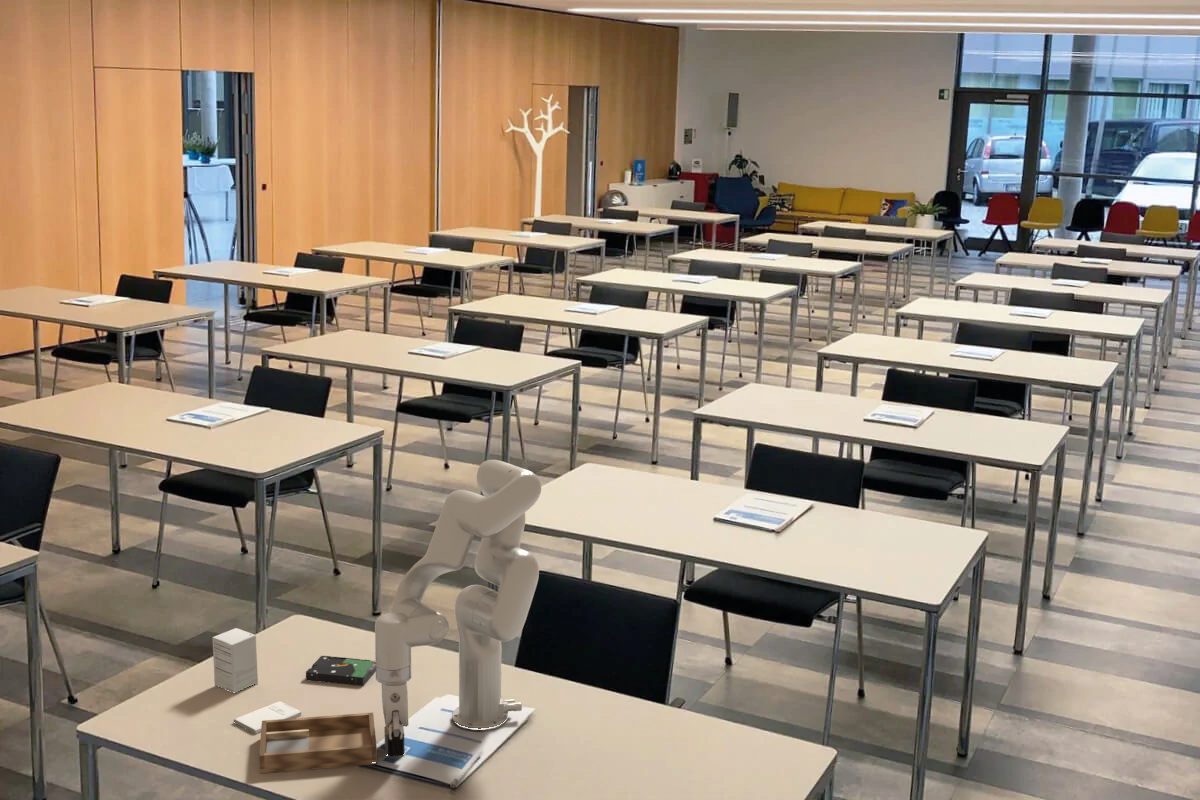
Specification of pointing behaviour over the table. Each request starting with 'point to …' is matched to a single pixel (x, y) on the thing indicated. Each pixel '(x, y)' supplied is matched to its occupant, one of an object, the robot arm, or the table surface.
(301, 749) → the crate
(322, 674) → the disk drive
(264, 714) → the external hard drive
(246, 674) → the supplement box
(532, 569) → the robot arm
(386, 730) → the block
